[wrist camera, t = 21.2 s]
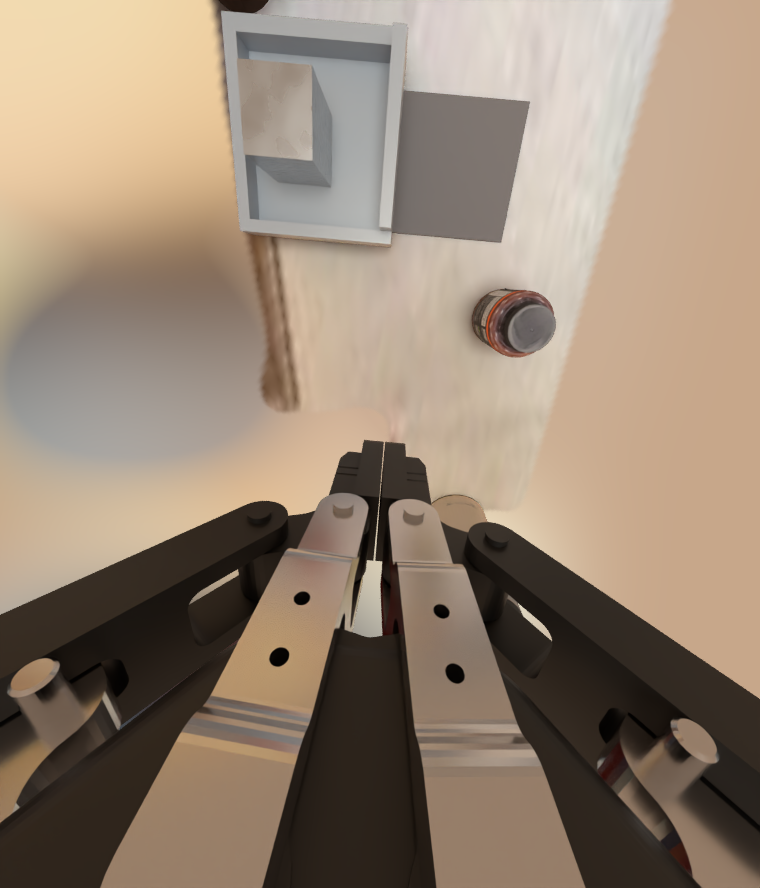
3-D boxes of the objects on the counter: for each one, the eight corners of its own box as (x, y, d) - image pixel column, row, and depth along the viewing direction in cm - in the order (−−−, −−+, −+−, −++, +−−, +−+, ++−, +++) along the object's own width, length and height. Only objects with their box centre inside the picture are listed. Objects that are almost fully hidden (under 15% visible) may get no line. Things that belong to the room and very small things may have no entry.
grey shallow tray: (391, 248, 36) (389, 241, 29) (259, 236, 36) (227, 226, 29) (406, 65, 30) (409, 2, 23) (247, 51, 30) (203, -16, 23)
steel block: (331, 187, 32) (312, 160, 25) (278, 182, 32) (243, 154, 25) (332, 116, 30) (311, 64, 22) (275, 111, 30) (236, 58, 22)
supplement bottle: (535, 312, 39) (584, 324, 28) (496, 354, 41) (529, 378, 31) (497, 276, 37) (536, 275, 27) (459, 321, 39) (482, 336, 29)
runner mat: (500, 242, 36) (501, 242, 36) (255, 220, 36) (254, 220, 36) (529, 102, 31) (529, 101, 31) (245, 77, 31) (244, 76, 31)
